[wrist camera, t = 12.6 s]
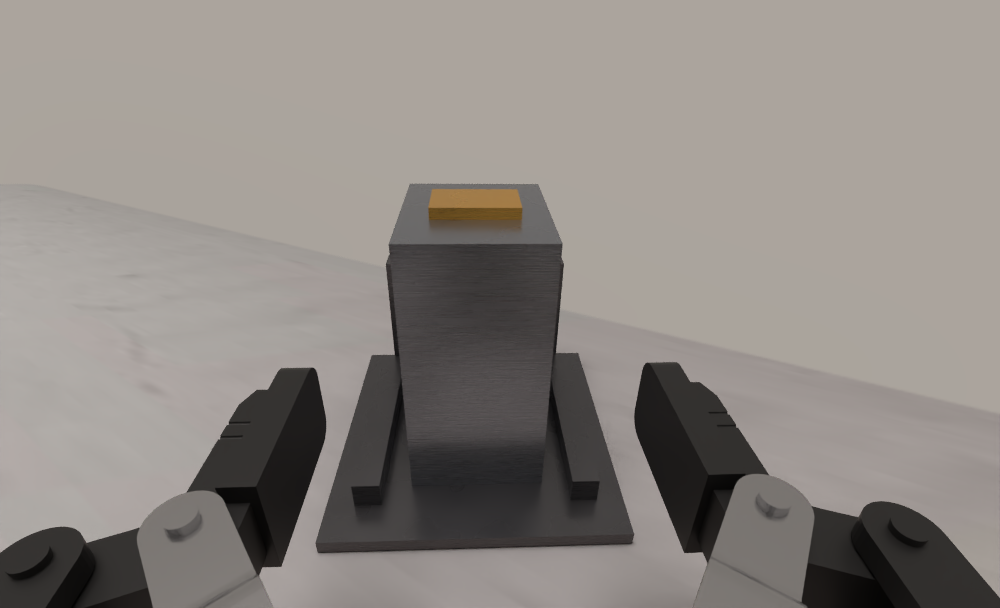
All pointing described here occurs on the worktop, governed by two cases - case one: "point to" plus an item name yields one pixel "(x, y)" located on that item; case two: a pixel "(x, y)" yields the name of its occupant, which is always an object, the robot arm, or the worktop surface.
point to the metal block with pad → (475, 330)
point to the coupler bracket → (472, 508)
